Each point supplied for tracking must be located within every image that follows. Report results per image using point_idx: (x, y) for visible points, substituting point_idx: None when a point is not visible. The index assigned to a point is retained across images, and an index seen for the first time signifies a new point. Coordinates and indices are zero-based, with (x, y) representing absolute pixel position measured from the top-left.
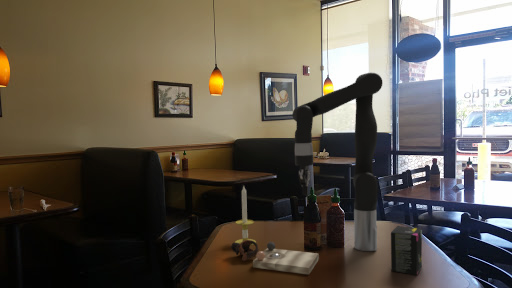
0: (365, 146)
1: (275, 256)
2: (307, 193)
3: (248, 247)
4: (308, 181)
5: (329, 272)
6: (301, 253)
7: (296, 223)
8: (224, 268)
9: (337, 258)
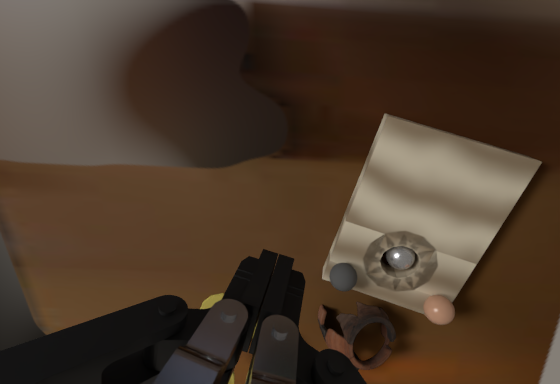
0: None
1: (413, 261)
2: (292, 265)
3: (325, 328)
4: (200, 336)
5: (522, 82)
6: (383, 178)
7: (6, 169)
8: (433, 366)
9: (375, 38)
